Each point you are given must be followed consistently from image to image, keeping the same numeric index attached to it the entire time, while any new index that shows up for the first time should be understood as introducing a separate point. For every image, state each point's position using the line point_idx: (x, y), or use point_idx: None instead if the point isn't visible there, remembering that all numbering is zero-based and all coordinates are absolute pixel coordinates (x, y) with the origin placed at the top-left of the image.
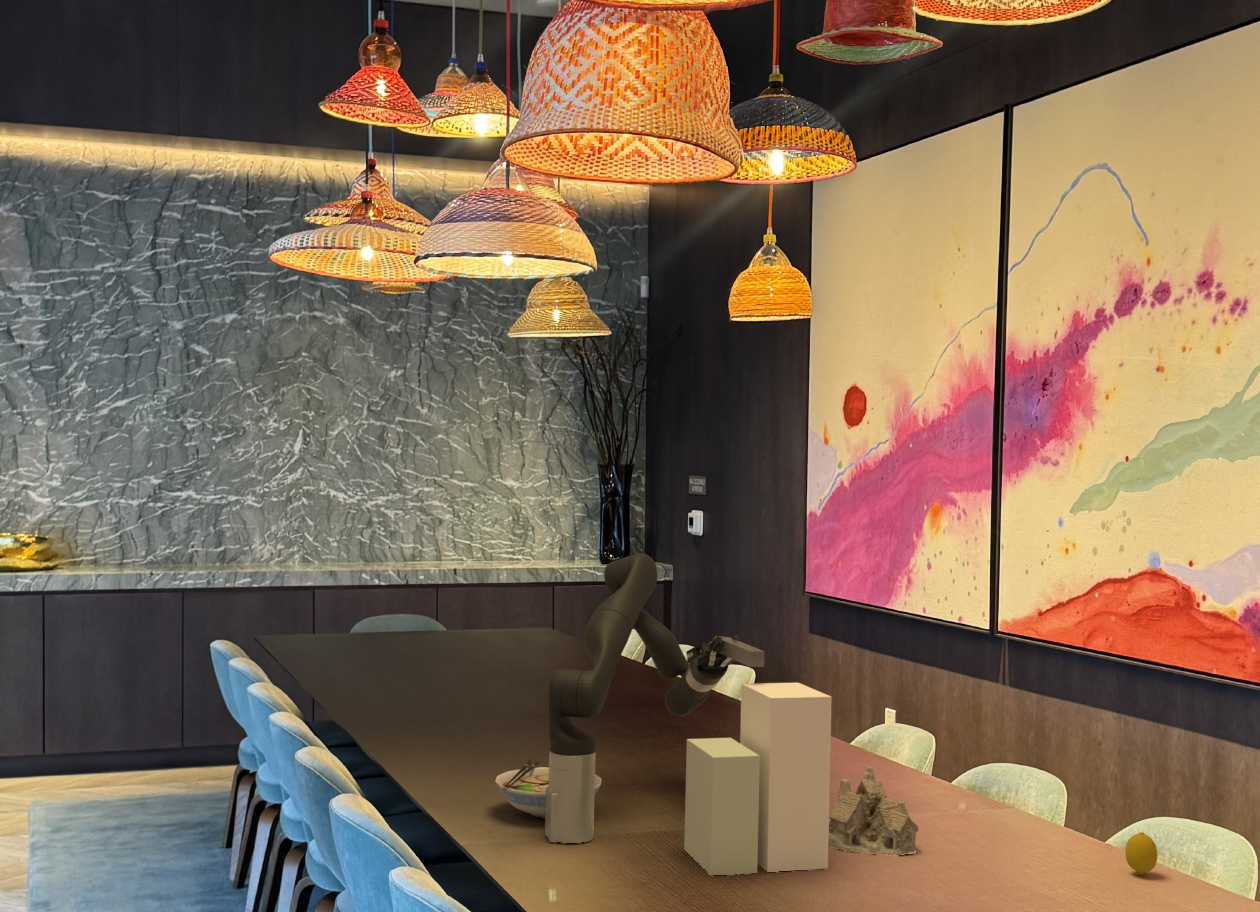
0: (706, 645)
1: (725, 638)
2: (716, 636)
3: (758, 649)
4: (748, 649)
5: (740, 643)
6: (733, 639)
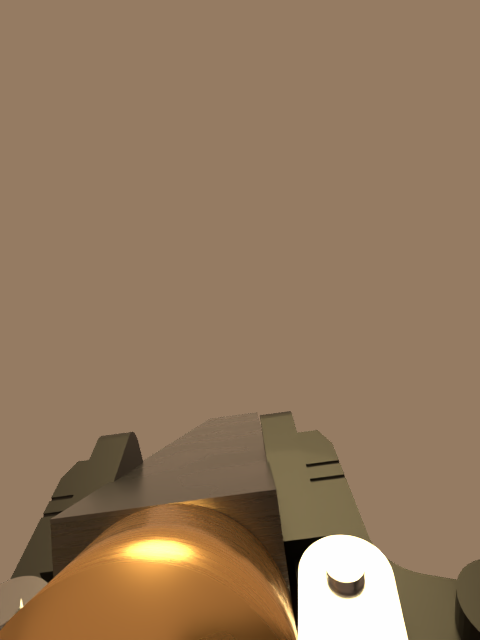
0: (442, 587)
1: (190, 470)
2: (191, 561)
3: (210, 420)
4: (245, 416)
5: (205, 433)
6: (149, 463)
